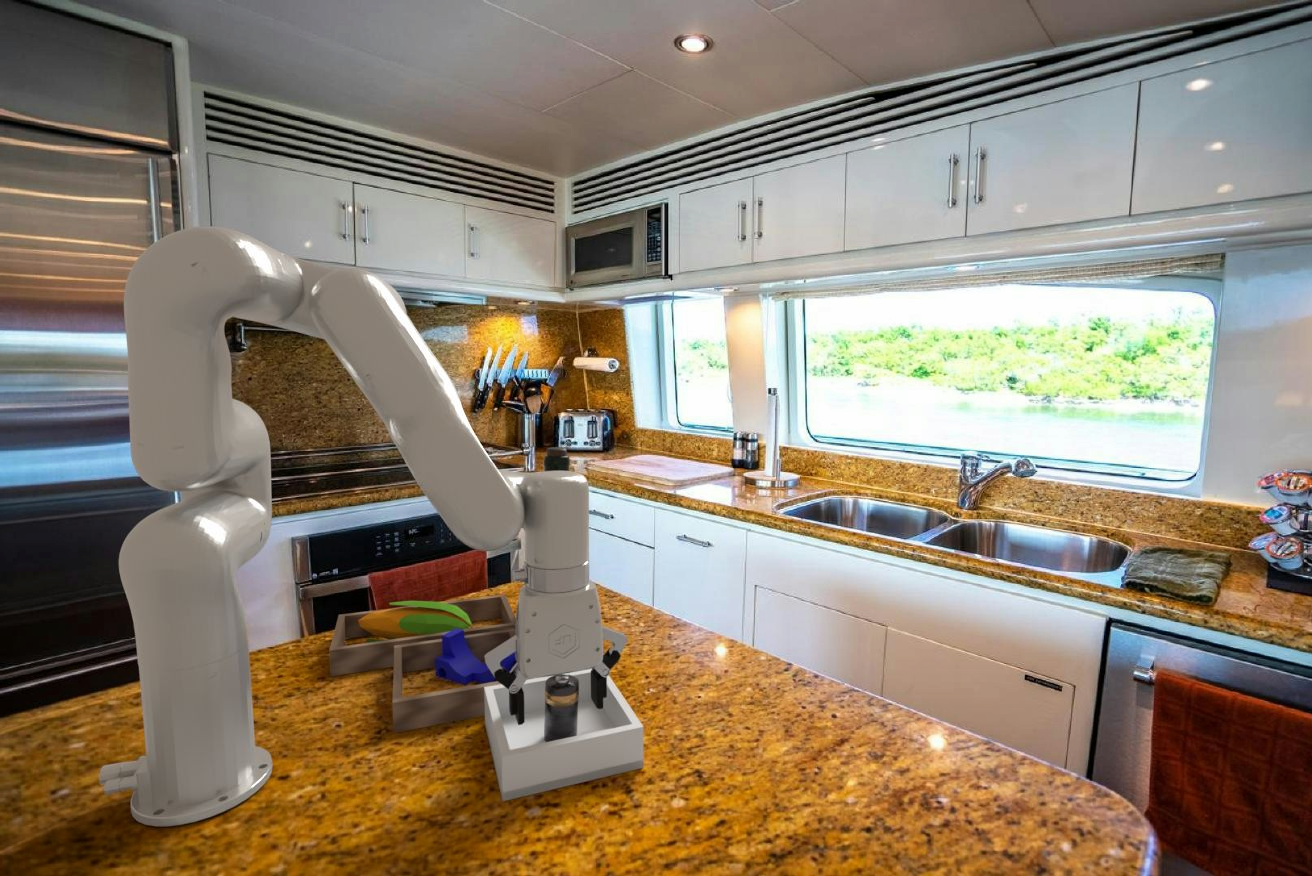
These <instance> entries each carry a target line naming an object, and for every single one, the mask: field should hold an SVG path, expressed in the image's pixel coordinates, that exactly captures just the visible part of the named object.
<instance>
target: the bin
mask: <svg viewBox="0 0 1312 876" xmlns="http://www.w3.org/2000/svg"><path fill="white" fill-rule="evenodd" d="M591 670H592V668H591V669H588V670H582V671H577V672H571V673H565V675H571V676H574V677H576V678H577V679H578V680H579V699H578V721H577V736H573V737H569V738H564V739H559V740H555V741H550V742H545V740H544V721H545V685H546V680H547V679H548V678H550V677H552V676H548V677H541V678H534V679H529V680H526V681H525V683H524V684H523V685H522V689H523V692H524V723H523V724H522V725H518V723H517V720H516V717H515V715H512V716H511V715H510V710H509V689H507V688H506V687H505V686H503V685H502V684H500V685H494V686H488V687H484V704H485V716H484V725H485V729H486V735H487V739H488V742H489V743H488V744H489V747H490V751H491V756H492V760H493V765H494V769H495V774H496V777H497V783H498V788H499V790H500V796H501V799H502V802H506V801H510V800H515V799H517V798H518V799H519V798H523V797H527V796H531V795H535V794H536V795H537V794H539V793H545V792H548V791H552V790H556V789H560V788H564V787H568V786H572V785H576V784H580V783H581V784H582V783H585V782H589V781H594V780H598V779H602V778H606V777H609V776H615V775H618V774H622V773H627V772H632V771H635V770H640V769H643V768H644V738H645V737H644V732H645V731H644V729H645V728H644V725H643V724H642V722H641V721H640V720H639V718H638V716H637V715H636V714H635V712H634V711H633V709H632V707H631V706H630V705H629V703H628V702H627V700H626V699H625V697H624V696H623V694H622V693H621V691H620V689H619V688H618V687H617V686H616V684H615V682H614V681H613V679H612V677H610V675H609V676H608V677H607V697H606V698H603V709H598V708H596V706H595V704H594V702H593V701H592V699H591ZM560 675H561V674H560ZM554 676H555V675H554Z"/></svg>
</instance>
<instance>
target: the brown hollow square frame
mask: <svg viewBox="0 0 1312 876" xmlns="http://www.w3.org/2000/svg"><path fill="white" fill-rule="evenodd" d="M513 636H515V629H507V630H500V631H493V632H486V633H479V634H472V635H465V636H464V637H465V641H466V643H467V646H468V648H469V650H470V651H471V653H472V654H473V655H474V656H475V657H476V658H477V659H478V660H479V661H485V659H484V656H485V655H486V654H487V653H488V652H490V651H491V650H493V649H495V648H496V647H498V646H499V645H501V644H502V643H504V642H505V641H507V640H509V639H510V638H512V637H513ZM441 655H443V652H442V639H436V640H429V641H422V642H415V643H408V644H401V645H394V667H393V675H392V676H393V677H392V678H393V679H392V680H393V681H392V724H393V725H392V726H393V729H392V730H393V734H396V733H401V732H406V731H411V730H417V729H422V728H423V729H424V728H427V727H432V726H438V724H439V725H444V724H449V723H453V721H455V722H459V721H463V720H469V719H474V718H479V717H485V704H484V687H488V686H494V685H500V684H501V683H499V682H498V681H496V682H490V683H484V684H482V683H479V684H474V685H468V686H467V685H466V686H461V687H456V688H449V689H443V690H437V691H433V692H426V693H421V694H415V695H408V696H403V673H407V672H414V671H421V670H425V669H431V668H433V669H435V658H437V657H439V656H441ZM529 679H534V678H528V679H527V680H529ZM448 722H449V723H448ZM443 723H444V724H443Z"/></svg>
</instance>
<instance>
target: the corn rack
mask: <svg viewBox="0 0 1312 876" xmlns="http://www.w3.org/2000/svg"><path fill="white" fill-rule="evenodd" d="M440 602H441V603H446V604H450V605H455V606H458V607H459V608H460V609H461V610H463V611H464V612H465V613H466V614H467V615H468V617H469V619H470V621H471V623H473V622H478V621H487V620H494V619H501V621H502V623H501V624H493V625H485V626H479V627H473V628H471V629H463V630H464V636H465V635H472V634H479V633H486V632H493V631H500V630H507V629H515V625H516V616H515V615H516V614H515V613H514V611H513V608H512V606H511V603H510V602H509V600H508V597H507V596H506V594H499V595H498V594H497V595H490V596H482V597H475V598H467V599H466V598H465V599H458V600H456V599H455V600H450V601H440ZM404 607H405V606H400V607H398V608H404ZM406 607H416V606H406ZM396 608H397V607H392V608H390V607H389V608H385V609H376V610H375V609H374V610H368V611H359V612H350V613H343V614H338V616H337V620H336V625H335V628H334V632H333V636H332V640H331V642H330V646H329V650H328V651H329V668H330V669H329V670H330V673H329V674H330V677H335V676H341V675H347V674H354V673H361V672H369V671H374V670H381V669H388V668H394V645H401V644H408V643H415V642H422V641H429V640H436V639H442V635H444V634H446V633H448V632H442V633H434V634H427V635H420V636H413V637H406V638H398V639H391V640H389V639H383V640H384V641H377V642H370V643H369V642H365V643H363V642H362V643H357V644H355V643H354V644H350V645H349V644H348V645H346V640H347V639H355V638H362V637H369V636H375V635H374V634H372V633H370V632H368V631H367V630H365V629H363V628H362V627H360V625H359V620H360V619H361V618H363V617H364V616H366V615H368V614H369V613H372V612H377V611H382V610H388V609H396ZM449 632H450V631H449Z"/></svg>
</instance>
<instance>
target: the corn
mask: <svg viewBox="0 0 1312 876" xmlns="http://www.w3.org/2000/svg"><path fill="white" fill-rule="evenodd" d="M441 602H442V601H432V600H431V601H430V600H429V601H428V600H425V601H424V600H403V601H394V602H389V603H388V605H390V606H403V607H404V608H399V607H395V608H396V609H390V608H387V609H388V610H382V609H381V610H382V611H377V612H372V613H369V614H368V615H366V616H364V617H363V618H361V619H360V620H359V625H360V627H362V628H363V629H365V630H367V631H368V632H370V633H372V634H374V635H373V636H376V637H380V638H379V639H378V638H367V639H365V641H366V642H365V643H370V642H377V641H384V640H391V639H398V638H406V637H413V636H420V635H427V634H434V633H442V632H449V631H452V630H454V629H456V628H457V629H461V630H463V629H471V628H472V627H473V626H472V623H473V622H471V621H470V619H469V617H468V615H467V614H466V613H465V612H464V611H463V610H461V609H460V608H459V607H458V606H455V605H450V604H446V603H441ZM407 606H416V607H407ZM381 638H383V639H381Z"/></svg>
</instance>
